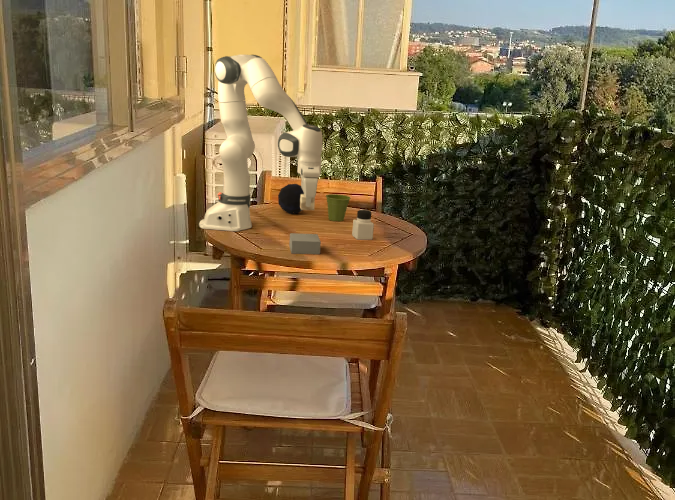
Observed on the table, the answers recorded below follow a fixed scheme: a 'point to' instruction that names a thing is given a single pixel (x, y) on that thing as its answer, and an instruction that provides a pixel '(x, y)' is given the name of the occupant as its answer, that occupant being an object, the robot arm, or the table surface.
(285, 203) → the decorative orb
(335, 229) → the table surface
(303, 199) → the ash cube
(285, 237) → the table surface
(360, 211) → the medicine bottle
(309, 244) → the grey block
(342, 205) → the plant pot
